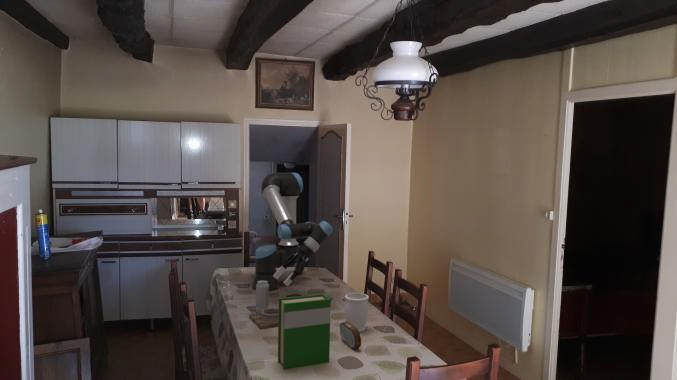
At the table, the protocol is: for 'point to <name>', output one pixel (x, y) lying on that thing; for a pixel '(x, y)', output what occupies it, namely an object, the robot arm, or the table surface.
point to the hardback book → (304, 330)
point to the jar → (356, 310)
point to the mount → (266, 318)
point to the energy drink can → (262, 295)
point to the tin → (350, 335)
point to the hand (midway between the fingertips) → (280, 281)
